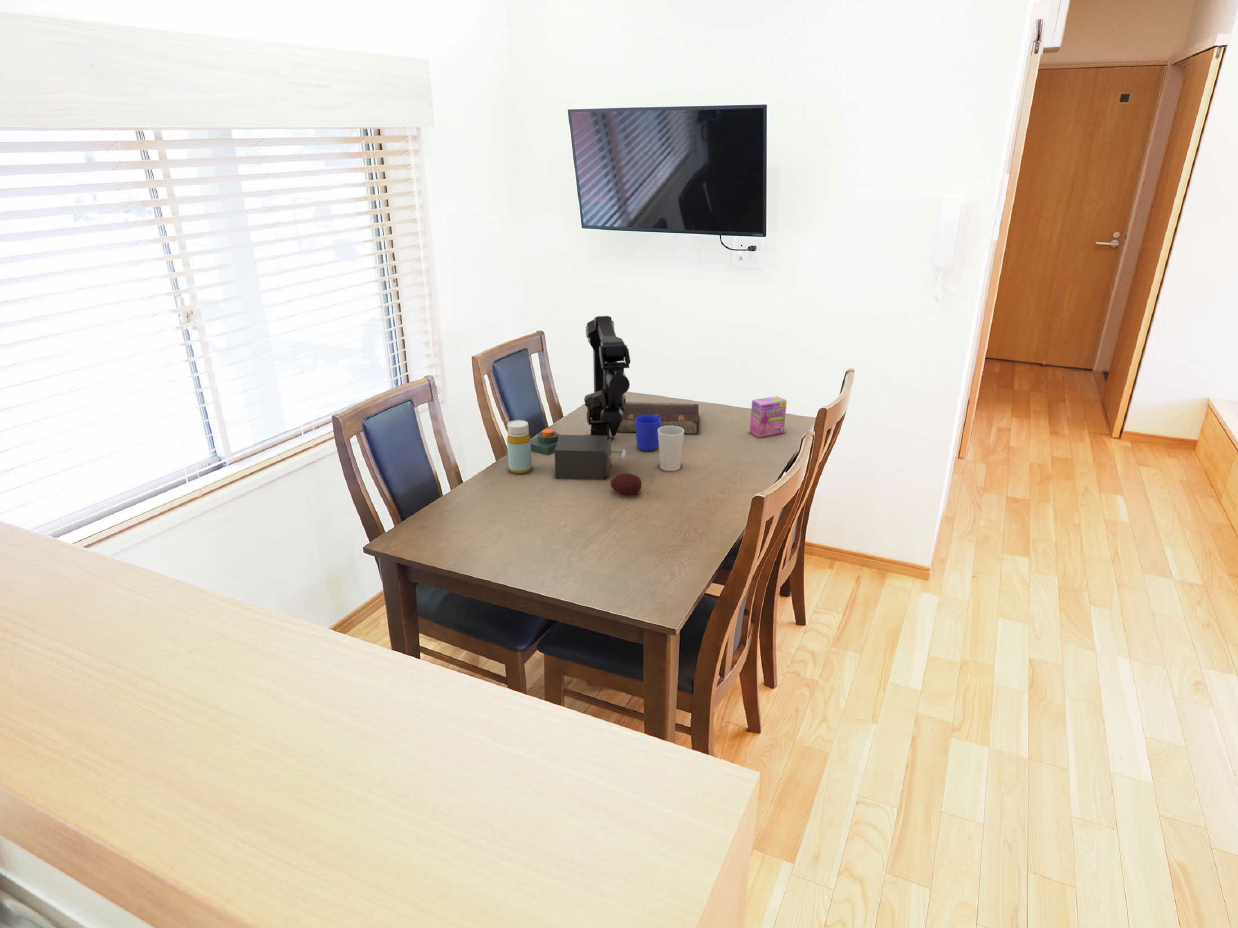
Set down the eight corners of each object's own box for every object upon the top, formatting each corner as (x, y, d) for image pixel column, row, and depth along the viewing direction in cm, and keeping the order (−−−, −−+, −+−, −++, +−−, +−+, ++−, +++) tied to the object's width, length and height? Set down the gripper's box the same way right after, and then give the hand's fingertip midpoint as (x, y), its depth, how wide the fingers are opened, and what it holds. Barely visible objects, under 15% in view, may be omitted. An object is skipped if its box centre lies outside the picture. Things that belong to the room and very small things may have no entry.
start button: (547, 432, 258) (547, 427, 258) (555, 435, 256) (555, 430, 256) (540, 436, 256) (540, 431, 255) (548, 438, 254) (548, 433, 253)
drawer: (626, 461, 243) (626, 439, 240) (624, 476, 233) (624, 453, 230) (568, 460, 244) (567, 438, 241) (563, 475, 234) (562, 452, 231)
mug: (668, 441, 260) (669, 413, 256) (654, 454, 250) (655, 425, 246) (645, 438, 263) (646, 410, 260) (631, 450, 253) (631, 421, 249)
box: (758, 438, 263) (761, 404, 258) (749, 432, 268) (751, 399, 263) (784, 433, 267) (787, 400, 262) (774, 427, 272) (777, 395, 267)
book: (697, 415, 283) (698, 402, 281) (698, 434, 266) (698, 420, 264) (617, 413, 286) (617, 400, 284) (613, 432, 268) (613, 418, 266)
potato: (634, 501, 219) (634, 481, 217) (606, 495, 223) (606, 475, 221) (646, 490, 226) (646, 471, 223) (618, 485, 229) (618, 466, 227)
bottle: (528, 475, 236) (525, 428, 230) (505, 473, 237) (502, 427, 231) (534, 466, 242) (532, 420, 236) (513, 464, 243) (510, 419, 237)
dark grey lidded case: (607, 462, 244) (607, 435, 241) (604, 479, 233) (604, 451, 229) (561, 461, 245) (560, 434, 242) (555, 478, 234) (554, 450, 230)
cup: (675, 474, 236) (676, 437, 231) (652, 468, 240) (652, 431, 235) (687, 465, 242) (688, 428, 238) (664, 459, 246) (665, 423, 242)
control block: (549, 437, 264) (548, 426, 263) (570, 442, 260) (570, 431, 258) (526, 448, 255) (525, 437, 254) (547, 454, 251) (547, 443, 249)
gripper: (588, 374, 237) (589, 422, 243) (582, 393, 219) (583, 445, 226) (625, 374, 236) (625, 423, 242) (622, 394, 219) (622, 446, 225)
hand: (613, 434), depth 234 cm, fingers closed
